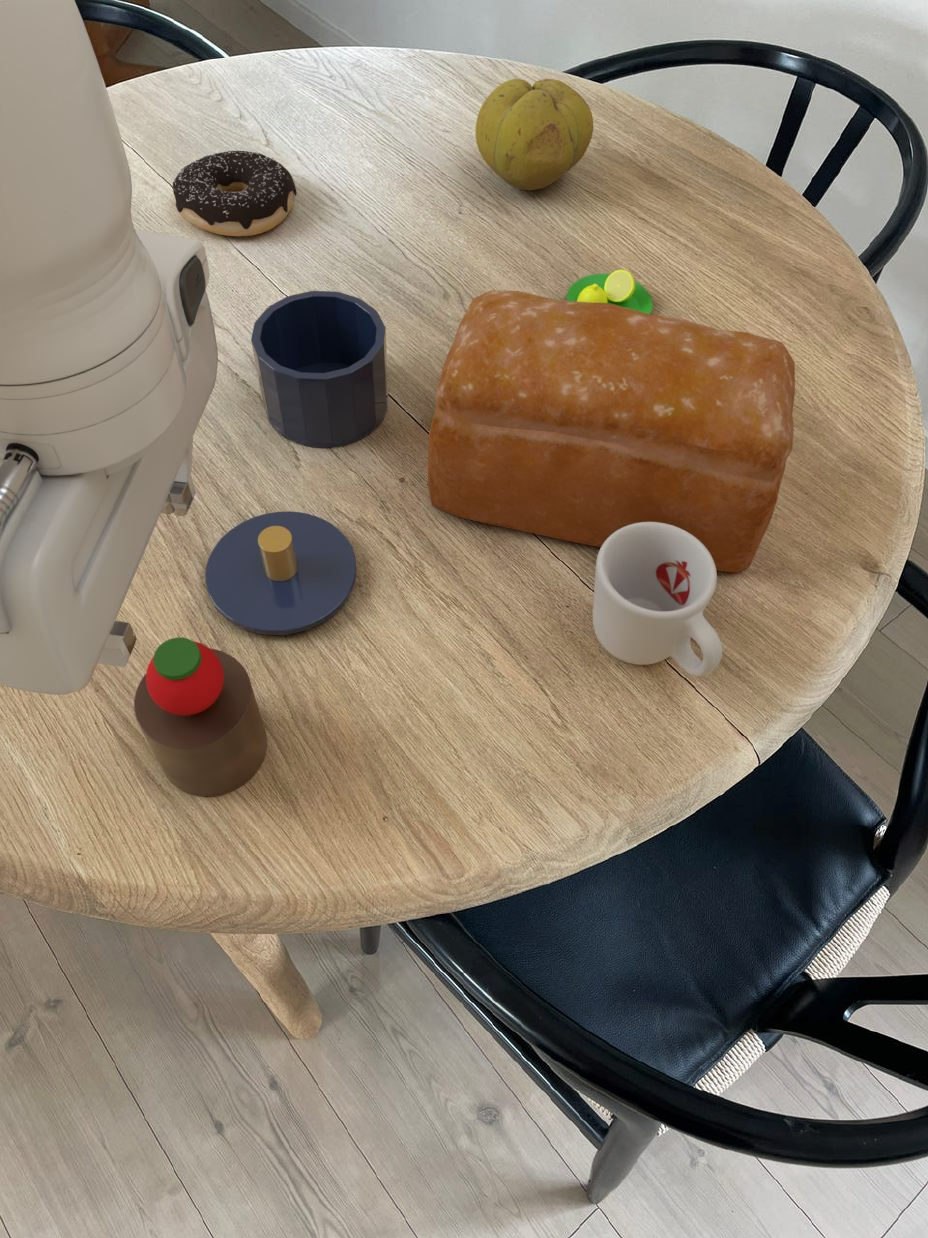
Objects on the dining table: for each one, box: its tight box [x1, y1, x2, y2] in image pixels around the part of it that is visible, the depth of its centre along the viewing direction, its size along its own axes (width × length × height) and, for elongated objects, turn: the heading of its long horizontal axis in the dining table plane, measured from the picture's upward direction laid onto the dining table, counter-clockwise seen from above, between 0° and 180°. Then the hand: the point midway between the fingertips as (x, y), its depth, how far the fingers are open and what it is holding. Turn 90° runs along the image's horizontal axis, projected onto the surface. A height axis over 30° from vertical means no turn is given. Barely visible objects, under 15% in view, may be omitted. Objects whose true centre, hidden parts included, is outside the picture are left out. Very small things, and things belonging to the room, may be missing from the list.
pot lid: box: [204, 511, 357, 636], centre depth 71 cm, size 11×11×5 cm
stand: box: [133, 647, 268, 798], centre depth 62 cm, size 7×7×7 cm
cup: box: [592, 522, 723, 678], centre depth 67 cm, size 11×8×8 cm
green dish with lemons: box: [566, 269, 653, 314], centre depth 90 cm, size 8×8×3 cm
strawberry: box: [145, 637, 224, 715], centre depth 57 cm, size 4×4×5 cm
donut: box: [172, 149, 298, 237], centre depth 96 cm, size 11×12×4 cm
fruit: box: [475, 78, 594, 191], centre depth 98 cm, size 11×12×10 cm
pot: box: [250, 290, 389, 449], centre depth 80 cm, size 10×10×8 cm
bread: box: [427, 290, 796, 574], centre depth 72 cm, size 14×26×16 cm, turn 76°
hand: (148, 575), depth 49 cm, fingers open, 8 cm apart
